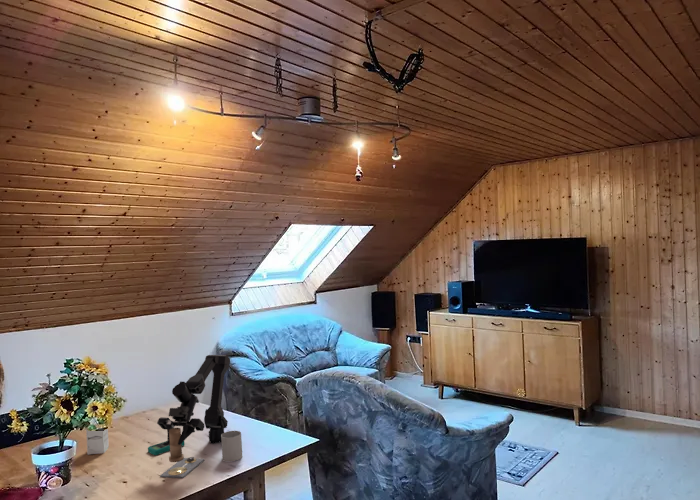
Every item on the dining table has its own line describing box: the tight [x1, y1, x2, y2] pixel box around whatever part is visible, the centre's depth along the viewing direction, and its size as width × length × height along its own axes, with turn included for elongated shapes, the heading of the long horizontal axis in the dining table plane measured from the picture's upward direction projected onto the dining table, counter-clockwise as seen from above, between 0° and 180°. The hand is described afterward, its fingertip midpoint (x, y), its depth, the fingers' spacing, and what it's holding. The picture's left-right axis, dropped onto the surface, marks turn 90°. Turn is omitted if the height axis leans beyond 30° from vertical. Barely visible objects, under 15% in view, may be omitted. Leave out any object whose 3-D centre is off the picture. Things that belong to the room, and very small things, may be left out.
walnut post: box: [168, 427, 185, 463], centre depth 212 cm, size 6×6×12 cm
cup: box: [221, 430, 243, 463], centre depth 225 cm, size 8×8×10 cm
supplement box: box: [85, 428, 110, 456], centre depth 240 cm, size 7×7×13 cm
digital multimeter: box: [147, 440, 185, 456], centre depth 239 cm, size 7×15×3 cm, turn 137°
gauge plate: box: [159, 456, 205, 479], centre depth 216 cm, size 17×10×2 cm, turn 167°
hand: (173, 444), depth 211 cm, fingers closed on walnut post, 4 cm apart
